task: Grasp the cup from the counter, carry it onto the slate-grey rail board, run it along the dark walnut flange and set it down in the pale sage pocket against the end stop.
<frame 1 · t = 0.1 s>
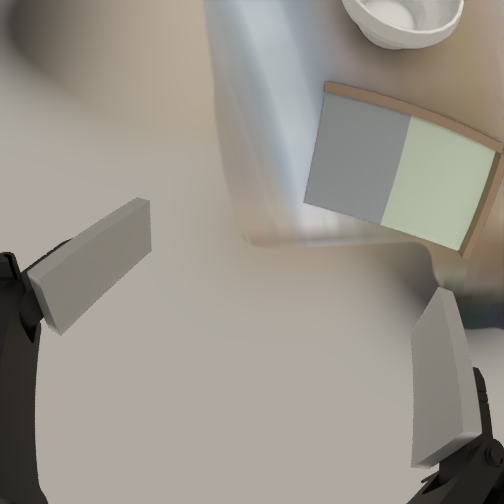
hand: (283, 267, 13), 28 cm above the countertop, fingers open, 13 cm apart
cup: (388, 21, 25), on the countertop
rail board: (407, 168, 33), on the countertop
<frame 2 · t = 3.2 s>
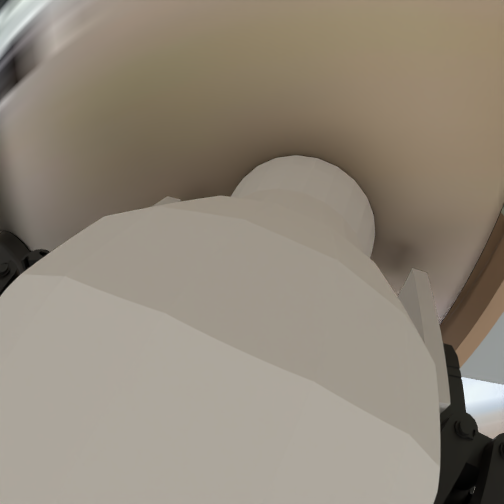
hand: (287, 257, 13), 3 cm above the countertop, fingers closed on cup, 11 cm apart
cup: (300, 227, 16), on the countertop, touching gripper
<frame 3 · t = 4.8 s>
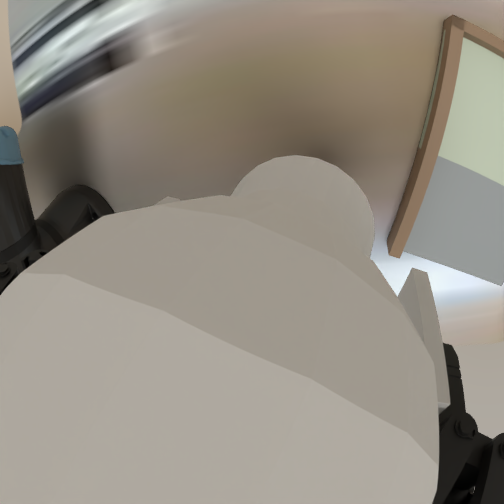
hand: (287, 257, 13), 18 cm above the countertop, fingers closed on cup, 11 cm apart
cup: (300, 227, 16), point 15 cm above the countertop, touching gripper
rail board: (489, 162, 22), on the countertop
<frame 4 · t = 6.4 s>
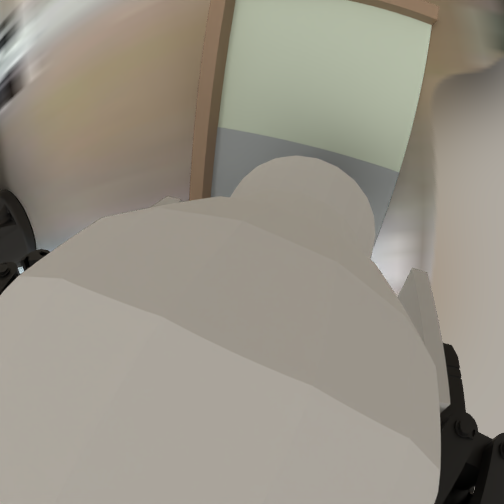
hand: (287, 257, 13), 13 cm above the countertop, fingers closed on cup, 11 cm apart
cup: (300, 227, 16), point 10 cm above the countertop, touching gripper
rail board: (305, 123, 22), on the countertop
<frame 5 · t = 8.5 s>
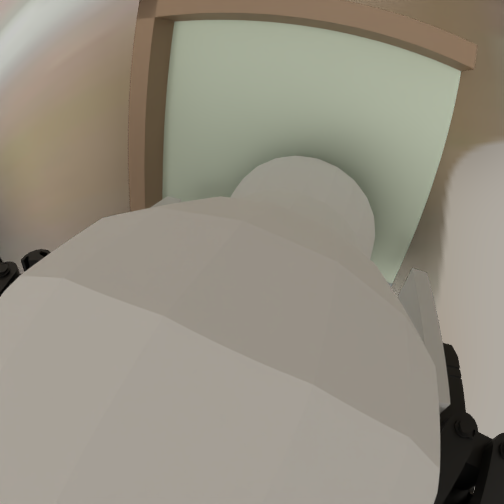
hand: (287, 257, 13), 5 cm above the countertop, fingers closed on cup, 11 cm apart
cup: (300, 227, 16), point 2 cm above the countertop, touching gripper
rail board: (271, 214, 18), on the countertop
when the fingers open (5 cm above the countertop, at t = 9.9 s): cup stays where it is, resting on rail board.
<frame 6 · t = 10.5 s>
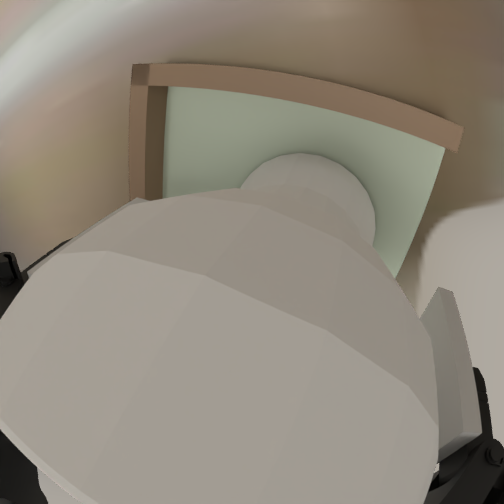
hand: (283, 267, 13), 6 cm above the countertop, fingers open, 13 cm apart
cup: (304, 222, 16), point 1 cm above the countertop, touching rail board
rail board: (261, 267, 20), on the countertop
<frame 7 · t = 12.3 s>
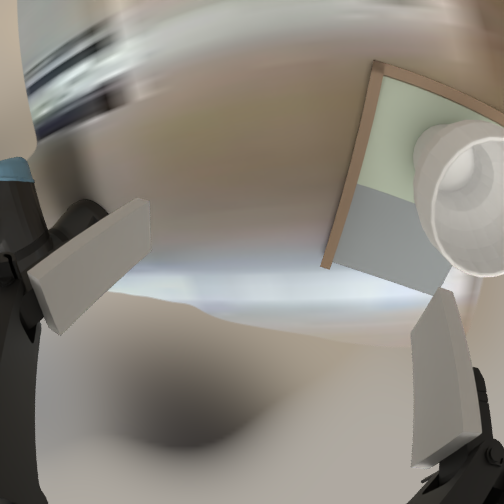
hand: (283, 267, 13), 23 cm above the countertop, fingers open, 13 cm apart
cup: (445, 159, 26), point 1 cm above the countertop, touching rail board
rail board: (415, 187, 30), on the countertop
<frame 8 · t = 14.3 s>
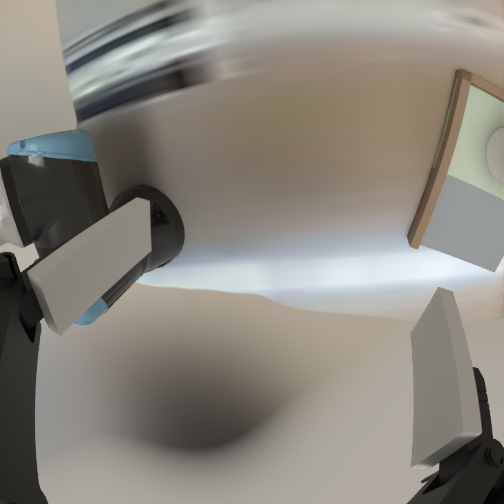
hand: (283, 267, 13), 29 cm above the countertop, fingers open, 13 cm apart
rail board: (484, 177, 30), on the countertop
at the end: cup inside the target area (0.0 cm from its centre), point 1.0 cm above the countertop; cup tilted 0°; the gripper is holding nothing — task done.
